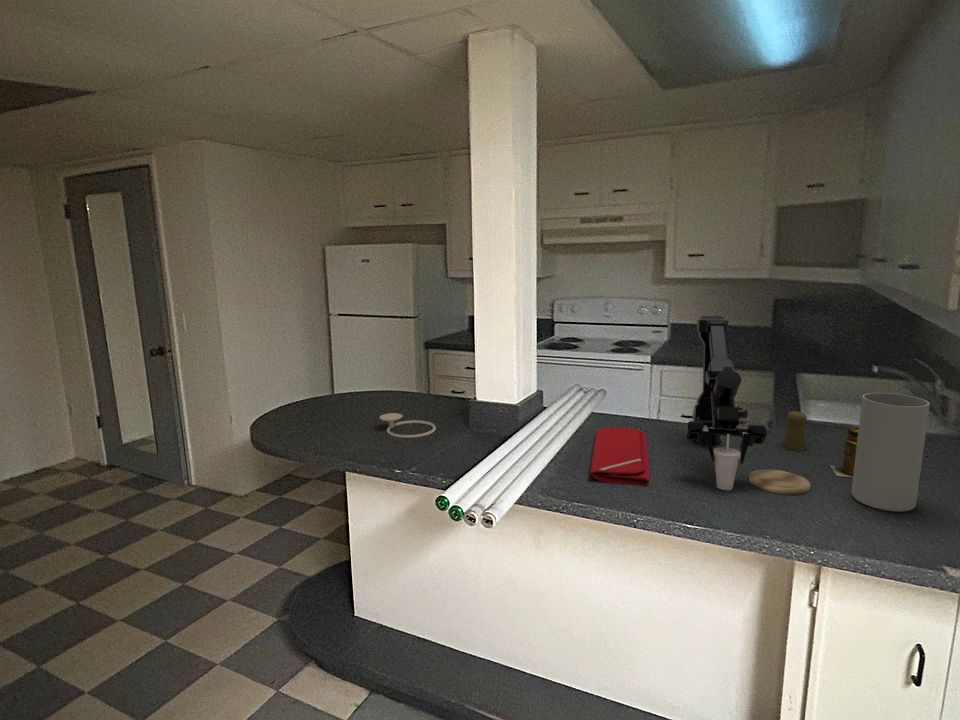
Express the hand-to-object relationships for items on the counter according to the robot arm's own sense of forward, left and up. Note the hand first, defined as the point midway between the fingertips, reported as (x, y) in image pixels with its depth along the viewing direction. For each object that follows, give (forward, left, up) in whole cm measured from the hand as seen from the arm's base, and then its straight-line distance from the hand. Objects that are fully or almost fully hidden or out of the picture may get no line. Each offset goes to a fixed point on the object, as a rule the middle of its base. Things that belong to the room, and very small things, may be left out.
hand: (727, 462), depth 141 cm
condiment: (+14, +36, -7) cm, 39 cm away
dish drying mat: (-32, -3, -8) cm, 33 cm away
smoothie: (-1, +1, -7) cm, 7 cm away
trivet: (+6, +14, -7) cm, 17 cm away
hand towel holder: (-94, -41, -8) cm, 103 cm away
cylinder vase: (+26, +23, -7) cm, 36 cm away
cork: (-5, +44, -7) cm, 45 cm away
